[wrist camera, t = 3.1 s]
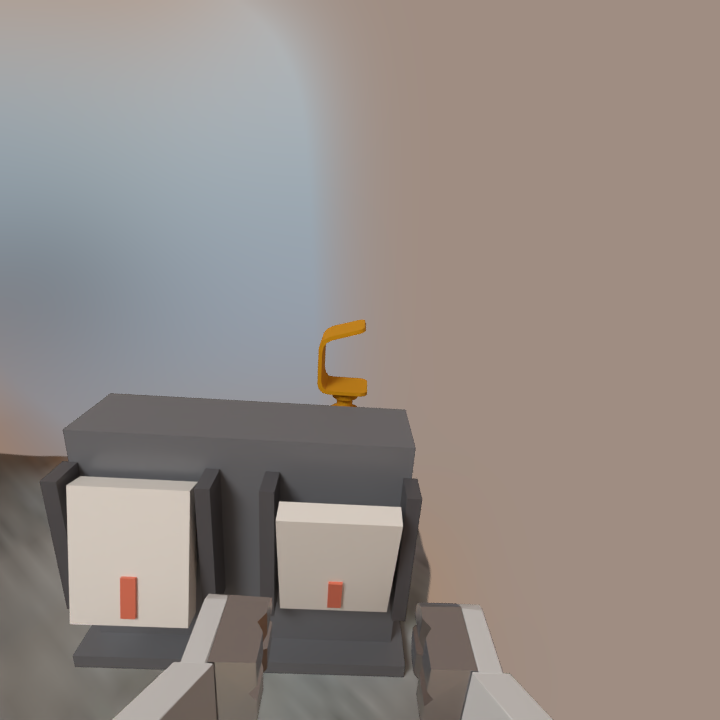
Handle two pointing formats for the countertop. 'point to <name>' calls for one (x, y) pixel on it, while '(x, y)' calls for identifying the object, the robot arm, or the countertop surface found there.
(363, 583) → the block
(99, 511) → the block
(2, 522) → the countertop surface
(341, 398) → the soap bottle
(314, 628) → the power panel
